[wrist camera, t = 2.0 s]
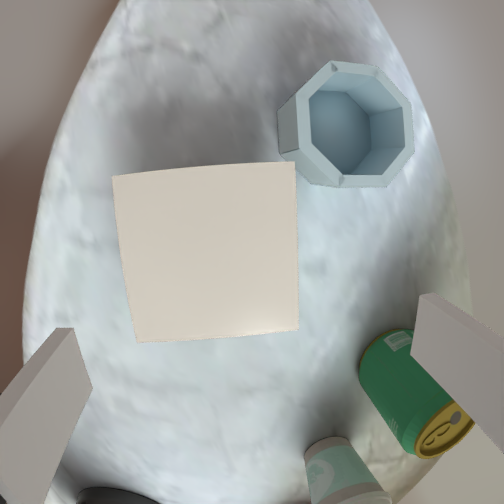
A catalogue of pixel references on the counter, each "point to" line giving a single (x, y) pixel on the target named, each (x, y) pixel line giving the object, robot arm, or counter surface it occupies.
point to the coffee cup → (340, 475)
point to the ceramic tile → (209, 250)
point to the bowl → (347, 127)
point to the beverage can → (411, 397)
